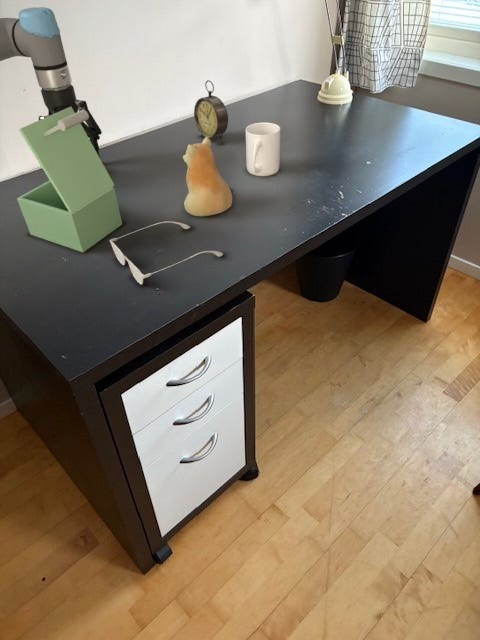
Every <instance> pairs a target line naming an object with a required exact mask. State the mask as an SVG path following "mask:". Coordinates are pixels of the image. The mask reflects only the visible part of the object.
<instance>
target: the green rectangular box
mask: <svg viewBox="0 0 480 640" xmlns="http://www.w3.org/2000/svg"><path fill="white" fill-rule="evenodd" d="M16 200H17V203H18V205H19V208H20V211H21V213H22V216H23V218H24V221H25V223H26V226H27V229H28V232H29V234H30V236H33V237H35V238H40V239H42V240H45V241H48V242H50V243H54V244H57V245H60V246H63V247H66V248H68V249H71V250H75V251H78V252H81V253H84V252H86V251H87V250H89V249H90V248H91V247H93V246H94V245H96V244H97V243H98V242H100V241H101V240H103V239H104V238H106V237H107V236H108V235H110V234H111V233H112V232H114V231H116V230H117V229H118V228H119V227H120V226H122V225H123V220H122V217H121V213H120V208H119V203H118V198H117V196H116V190H115V187H112V188H110V189H108V190H107V191H105V192H104V193H102V194H100V195H99V196H97V197H96V198H94V199H93V200H91V201H89V202H88V203H86V204H85V205H83V206H82V207H80V208H78V209H77V210H75V211H74V212H72V213H70V212H69V211H68V209H67V208H66V206H65V204H64V203H63V201H62V199H61V198H60V196H59V195H58V193H57V191H56V190H55V188H54V186H53V185H52V183H51V181H50V180H49V179H48V181H45V182H44V183H42V184H40V185H38V186H37V187H35V188H32V189H31V190H29V191H27V192H26V193H23V194H22V195H20V196H19V197H17V198H16Z"/></svg>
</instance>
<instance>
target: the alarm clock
mask: <svg viewBox="0 0 480 640" xmlns="http://www.w3.org/2000/svg"><path fill="white" fill-rule="evenodd" d="M208 82H209V83H210V84H211V86H212V91H211V90H209V89H208V87H207V83H208ZM204 86H205V89H206V91H207V93H208V95H207V96H203V97H200V98H199V99H197V100H196V102H195V105H194V108H193V109H194V110H193V116H194V122H195V126H196V127H197V129H198V131H199V133H200V134H201V135H200V137H201V138H202V137H205V138H206V137H208V138H209V139H210V140H211V139H214V138H216V139H217V141H218V143H219V144H220V145H222V141H221V136H222V135H224V134H225V133H226V131H227V129H228V125H229V115H228V110H227V107H226V105H225V103H224V102H223V100H222V99H220V97H218V96H217V95H212V94H213V93H214V91H215V86H214V83H213V82H212V81H211V80H209V79H207V80H206V81H205V84H204Z"/></svg>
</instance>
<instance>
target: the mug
mask: <svg viewBox="0 0 480 640" xmlns="http://www.w3.org/2000/svg"><path fill="white" fill-rule="evenodd" d="M245 157H246V158H245V159H246V160H245V162H246V170H247V172H248V173H249V174H251V175H252V176H256V177H269V176H273V175H275V174H276V173H278V171H279V170H280V164H281V163H280V162H281V161H280V160H281V159H280V158H281V126H280V125H278V124H276V123H273V122H255V123H251V124H248V125H247V126H246V127H245Z"/></svg>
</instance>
